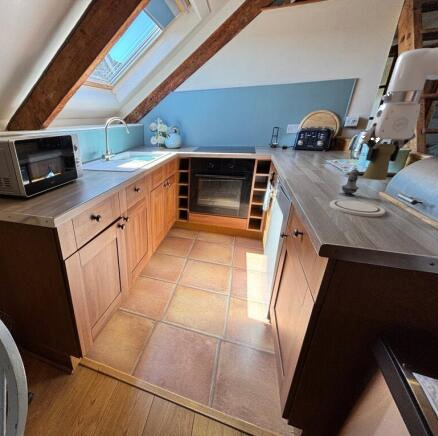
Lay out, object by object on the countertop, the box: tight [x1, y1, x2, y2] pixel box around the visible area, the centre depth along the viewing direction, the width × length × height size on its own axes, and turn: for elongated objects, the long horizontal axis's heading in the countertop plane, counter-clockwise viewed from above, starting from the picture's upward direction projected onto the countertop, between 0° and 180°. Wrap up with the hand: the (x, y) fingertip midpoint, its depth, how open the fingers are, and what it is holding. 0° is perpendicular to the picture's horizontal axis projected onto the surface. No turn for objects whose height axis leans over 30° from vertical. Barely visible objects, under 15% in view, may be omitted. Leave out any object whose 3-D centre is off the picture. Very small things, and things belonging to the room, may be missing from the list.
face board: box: [329, 199, 386, 218], centre depth 91 cm, size 16×16×1 cm
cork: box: [362, 143, 395, 181], centre depth 79 cm, size 6×6×11 cm
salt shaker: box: [340, 167, 360, 198], centre depth 104 cm, size 6×6×12 cm
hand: (380, 160), depth 79 cm, fingers closed on cork, 5 cm apart
